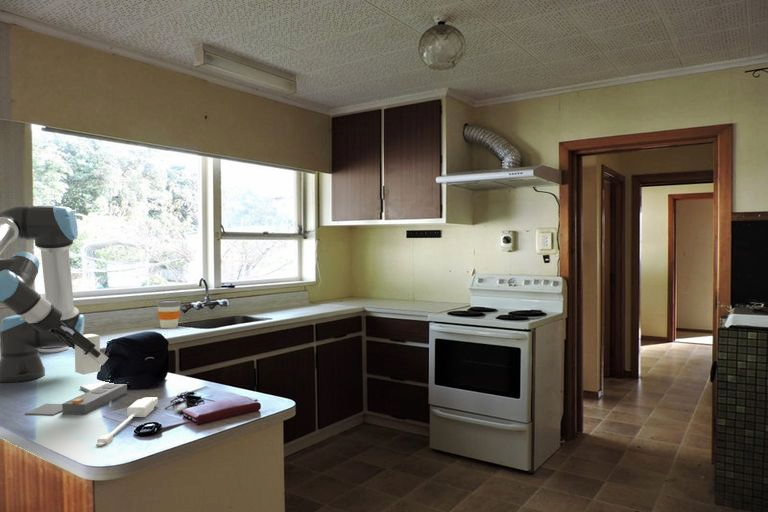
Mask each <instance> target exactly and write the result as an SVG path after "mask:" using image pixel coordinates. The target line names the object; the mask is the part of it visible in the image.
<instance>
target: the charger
mask: <svg viewBox="0 0 768 512" xmlns="http://www.w3.org/2000/svg"><path fill="white" fill-rule="evenodd" d="M83 336H84V337H85V338H87V339H88V340H89V341H90V342H92V343H93V344H95V348H97V349H98V350H99V351H100V352H101V339H100V338H101V336H100V335H98V334H95V333H87V334H83ZM84 353H85V351H84V350H83V349H81V348H80V347H78V346H77V345H75V349H74V370H75V371H74V372H75V373H78V374H80V375H88V374H93V373H97V372H101V364H99V363H98V362H97V361H95V360H94V359H93V358H92V357H90V356H89V355H88V354H87V355H85V354H84Z"/></svg>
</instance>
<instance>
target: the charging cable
mask: <svg viewBox="0 0 768 512" xmlns="http://www.w3.org/2000/svg"><path fill="white" fill-rule="evenodd" d="M158 403H159V397H155V396H154V397H149V396H148V397H145V396H144V397H143V398H140V399H139V398H138V399H136V400H135V401H134V402H133V403H132V404H131V405H129V406H128V407H127V408H126V412H127V413H126V419H125V420H123V422H121V423H120V424H119V425H118V426H117V427H116V428H114V429H113V430H112V431H111V432H110V433H106V434H102V435H101V436H100V437H99V438H98V439H97V443H96V444H95V445H96V446H99V447H100V446H103V445H109V444H110V443H111V442H113V439H114V435H116V433H118V432H119V431H120V430H121V429H122V428H123V427H124V426H126V425H127V423H129V422H130V421H131V420H132V419H133V417H145V418H146V417H147V416H149V415H150V413H152V411H154V409H155V406H156V405H157V404H158ZM127 417H128V418H127Z"/></svg>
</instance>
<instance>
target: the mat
mask: <svg viewBox="0 0 768 512" xmlns="http://www.w3.org/2000/svg"><path fill="white" fill-rule="evenodd" d="M62 404H63V403H44V404H43V405H40V406H38V407H35V408H34V409H31V410H29V411H26V412H24V415H28V416H29V415H30V416H31V415H32V416H56V415H58V414H60V413H62Z"/></svg>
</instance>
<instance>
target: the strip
mask: <svg viewBox="0 0 768 512" xmlns="http://www.w3.org/2000/svg"><path fill="white" fill-rule="evenodd" d="M127 391H128V387H127V384H111V383H106V384H104V385H102V386H100V387H98V388H95V389H93V390H91V391H89V392H85V393H83V394H80V395H79V396H76V397H74V398H72V399H70V400H68V401H65V402H63V403H61V404H62V412H61V413H62V415H87V414H90V413H91V412H93V411H95V410H96V408H97V409H98V407H99V408H100V406H101V407H103V406H104V405H107V404H108V403H110V402H112V401H114V400H116V399H119V398H120V397H121V396H123V395H126V394H127V393H128V392H127ZM111 400H112V401H111ZM102 405H103V406H102ZM94 409H95V410H94Z"/></svg>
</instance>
